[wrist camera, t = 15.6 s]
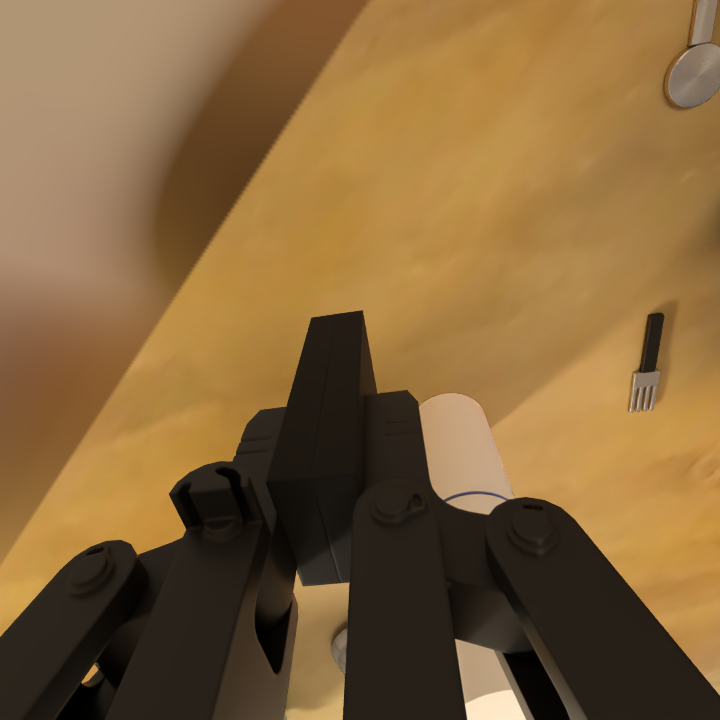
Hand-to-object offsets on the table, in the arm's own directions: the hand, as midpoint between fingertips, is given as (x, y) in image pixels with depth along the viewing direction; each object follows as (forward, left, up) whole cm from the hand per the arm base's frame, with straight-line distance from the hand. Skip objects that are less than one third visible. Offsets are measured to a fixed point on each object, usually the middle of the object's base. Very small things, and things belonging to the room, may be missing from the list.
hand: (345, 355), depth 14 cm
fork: (+18, +23, -24) cm, 38 cm away
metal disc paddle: (-7, +23, -24) cm, 34 cm away
